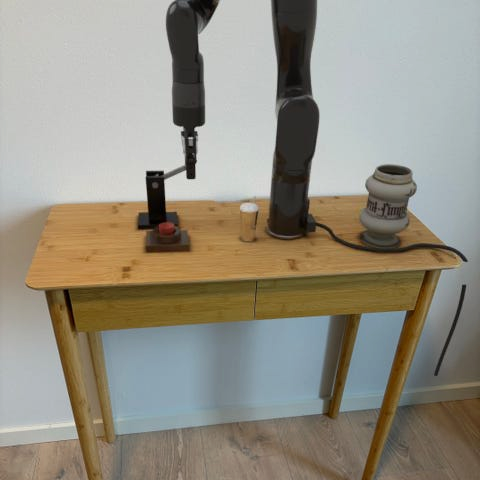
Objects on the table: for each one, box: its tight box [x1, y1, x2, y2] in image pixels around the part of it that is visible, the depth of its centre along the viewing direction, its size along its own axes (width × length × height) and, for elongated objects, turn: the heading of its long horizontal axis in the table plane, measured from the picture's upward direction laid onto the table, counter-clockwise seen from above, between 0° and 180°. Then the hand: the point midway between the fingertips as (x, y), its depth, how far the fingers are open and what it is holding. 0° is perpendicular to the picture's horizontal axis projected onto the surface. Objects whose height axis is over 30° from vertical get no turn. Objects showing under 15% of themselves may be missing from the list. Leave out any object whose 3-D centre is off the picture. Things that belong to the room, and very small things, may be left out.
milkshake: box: [239, 195, 260, 242], centre depth 120 cm, size 4×5×10 cm
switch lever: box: [153, 164, 186, 181], centre depth 121 cm, size 12×5×2 cm, turn 98°
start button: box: [159, 222, 175, 235], centre depth 116 cm, size 4×4×2 cm
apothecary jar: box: [358, 163, 418, 248], centre depth 119 cm, size 12×12×18 cm
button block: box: [145, 226, 190, 253], centre depth 117 cm, size 10×8×4 cm
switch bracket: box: [137, 170, 179, 230], centre depth 124 cm, size 10×8×13 cm
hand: (190, 173), depth 122 cm, fingers open, 7 cm apart
